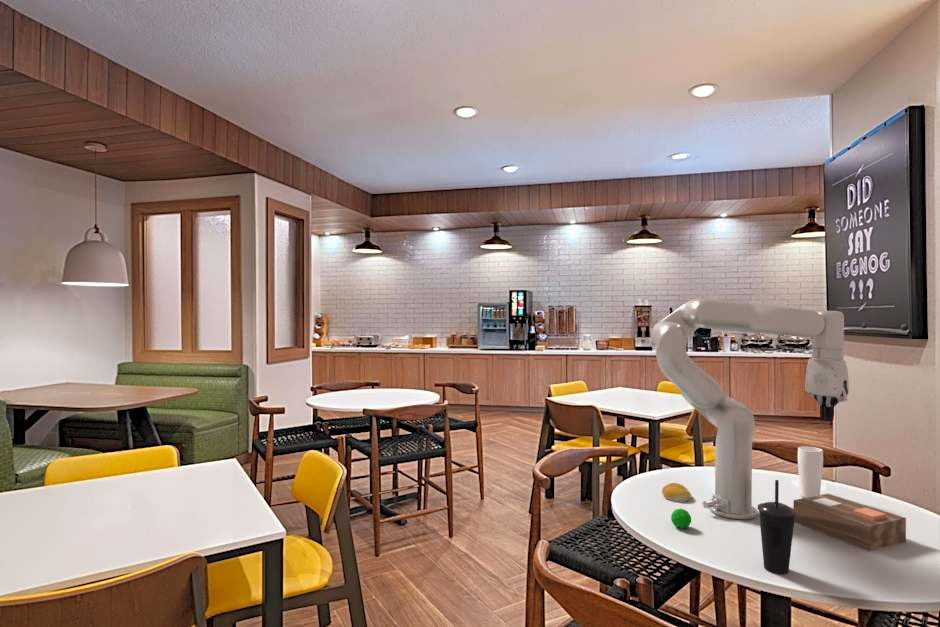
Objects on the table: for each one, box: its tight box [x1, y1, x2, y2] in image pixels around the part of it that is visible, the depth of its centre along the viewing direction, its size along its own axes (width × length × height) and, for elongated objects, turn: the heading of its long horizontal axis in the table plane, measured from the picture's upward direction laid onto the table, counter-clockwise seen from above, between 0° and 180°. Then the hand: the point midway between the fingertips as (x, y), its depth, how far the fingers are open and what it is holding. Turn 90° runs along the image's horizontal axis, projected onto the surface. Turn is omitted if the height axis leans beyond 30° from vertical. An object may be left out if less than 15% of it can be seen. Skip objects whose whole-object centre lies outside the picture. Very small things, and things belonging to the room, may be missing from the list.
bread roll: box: [661, 482, 692, 502], centre depth 174 cm, size 8×9×4 cm
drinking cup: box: [757, 479, 796, 575], centre depth 126 cm, size 8×8×20 cm
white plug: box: [812, 498, 842, 507], centre depth 153 cm, size 5×5×4 cm
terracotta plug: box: [853, 507, 886, 521], centre depth 143 cm, size 5×5×4 cm
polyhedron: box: [670, 508, 692, 529], centre depth 151 cm, size 5×5×5 cm
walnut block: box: [792, 493, 907, 552], centre depth 148 cm, size 14×20×6 cm
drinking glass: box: [797, 445, 824, 498], centre depth 174 cm, size 7×7×15 cm
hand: (826, 419), depth 159 cm, fingers closed
